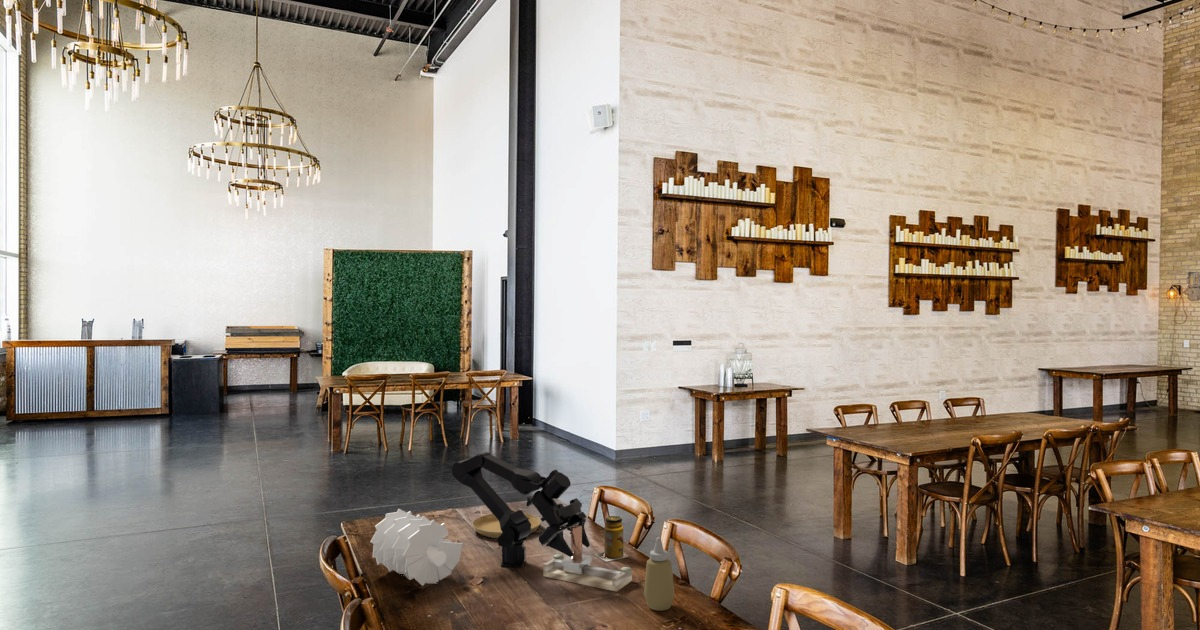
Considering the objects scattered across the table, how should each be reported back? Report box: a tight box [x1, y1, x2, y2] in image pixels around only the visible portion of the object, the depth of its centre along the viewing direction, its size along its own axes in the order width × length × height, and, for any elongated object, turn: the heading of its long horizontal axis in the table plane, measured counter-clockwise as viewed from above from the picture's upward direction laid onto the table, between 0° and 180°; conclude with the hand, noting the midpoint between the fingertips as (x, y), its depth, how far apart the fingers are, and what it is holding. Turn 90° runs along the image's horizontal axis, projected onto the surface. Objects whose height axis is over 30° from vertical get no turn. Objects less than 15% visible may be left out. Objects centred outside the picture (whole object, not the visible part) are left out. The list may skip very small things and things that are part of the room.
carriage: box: [562, 525, 593, 575], centre depth 210 cm, size 6×7×13 cm
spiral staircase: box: [369, 508, 464, 587], centre depth 212 cm, size 18×18×25 cm
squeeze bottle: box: [643, 537, 675, 612], centre depth 188 cm, size 8×8×18 cm
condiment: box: [593, 515, 629, 563], centre depth 227 cm, size 7×8×12 cm
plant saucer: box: [471, 512, 542, 539], centre depth 255 cm, size 24×24×3 cm
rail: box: [542, 553, 633, 592], centre depth 208 cm, size 26×9×4 cm, turn 60°
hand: (580, 551), depth 209 cm, fingers open, 9 cm apart
